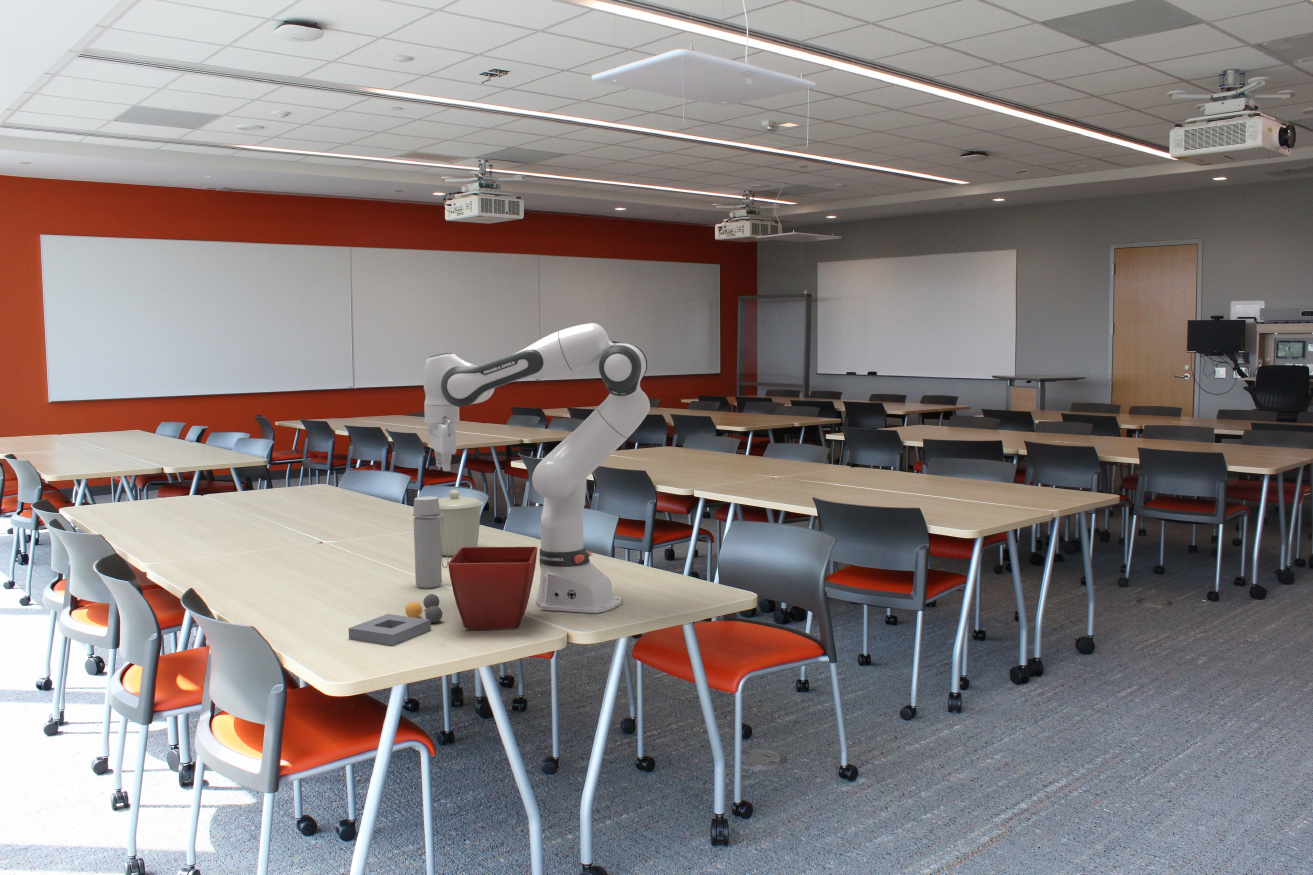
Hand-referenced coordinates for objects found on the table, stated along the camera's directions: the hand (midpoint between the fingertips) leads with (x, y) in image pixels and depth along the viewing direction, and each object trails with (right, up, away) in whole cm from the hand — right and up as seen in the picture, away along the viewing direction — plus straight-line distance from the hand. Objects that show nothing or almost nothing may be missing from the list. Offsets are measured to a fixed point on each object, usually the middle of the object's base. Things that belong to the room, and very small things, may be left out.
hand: (443, 468), depth 246 cm
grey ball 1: (-2, -34, -6) cm, 34 cm away
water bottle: (-7, -34, +19) cm, 39 cm away
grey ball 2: (+2, -35, -18) cm, 39 cm away
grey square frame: (-6, -38, -27) cm, 47 cm away
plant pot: (+17, -37, -18) cm, 44 cm away
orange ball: (-4, -35, -14) cm, 37 cm away
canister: (-10, -30, +62) cm, 70 cm away
